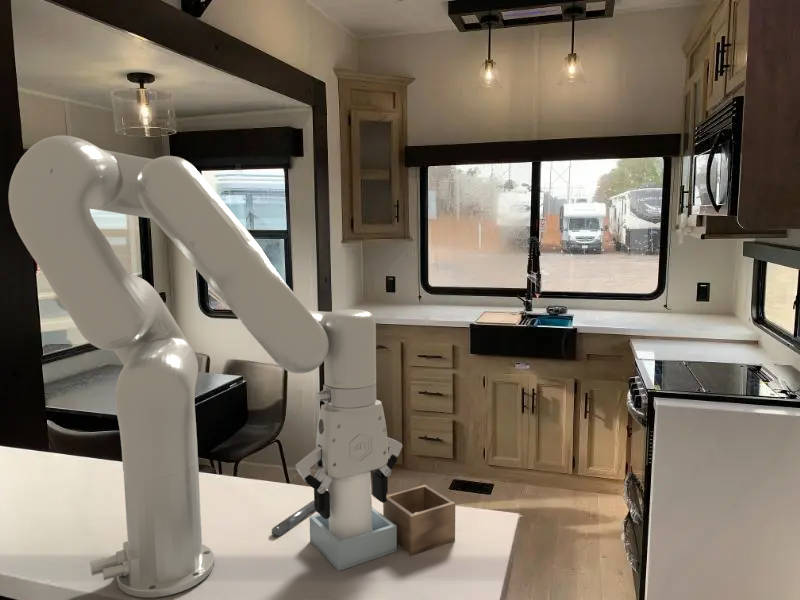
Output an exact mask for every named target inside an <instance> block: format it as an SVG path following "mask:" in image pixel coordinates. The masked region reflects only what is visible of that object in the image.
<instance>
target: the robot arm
mask: <svg viewBox="0 0 800 600" xmlns="http://www.w3.org/2000/svg"><path fill="white" fill-rule="evenodd" d="M8 206H9V213H10V216H11V219H12V222H13V225H14V228H15V229H16V232H17V233H18V236H19V237H20V239H21V241H22V243H23V244H24V246H25V247H26V249H27V251H28V252H29V253H30V256H31V257H32V258H33V259H34V261H35V263H36V264H37V266H38V268H39V269H40V270H41V272H42V273H43V275H44V277H45V279H46V281H47V282H48V284H49V286H50V287H51V289H52V290H53V292H54V293H55V295H56V296H57V298H58V300H59V301H60V302H61V305H62V306H63V307H64V308H65V310H66V312H67V314H68V315H69V316H70V318H71V320H72V321H73V323H74V324H75V327H76V329H78V332H80V334H81V336H82V337H83V338H84V339H85V340H86V341H87V342H88V343H89V344H90V345H92V346H94V347H96V348H98V349H101V350H105V351H113V352H114V353H115V354H116V356H117V357H118V360H120V362H121V364H122V365H123V367H122V369H121V370H120V373H119V375H118V378H117V380H116V384H115V391H114V400H115V402H114V403H115V410H116V411H115V412H116V416H117V421H118V428H119V436H120V446H121V459H122V472H123V483H124V485H123V486H124V500H125V501H124V502H125V503H124V504H125V518H126V519H125V520H126V532H127V533H126V535H127V536H126V537H127V541H124V542H123V543H122V549H121V550H118V551H115V554H113V555H109V556H104V557H100V558H96V559H91V560H90V561H89V567H90V574H91V577H93V576H97V575H100V574H102V579H103V581H106V580H109V579H113V578H115V577H116V581H117V586H118V588H119V589H120V590H121V591H122V592H123V593H125V594H127V595H129V596H134V597H136V598H149V599H150V598H162V597H166V596H171V595H172V596H173V595H175V594H179V593H181V592H184V591H187V590H189V589H191V588H193V587H194V586H196V585H199V583H202V582H203V580H205V579H207V577H208V576H209V575H210V574H211V573H212V571H213V570H214V566H215V555H214V552H213V551H212V549H211V548H210V547H209V546H207V545H205V544H203V538H202V517H201V516H202V515H201V492H200V491H201V490H200V473H199V472H200V471H199V456H198V455H199V454H198V451H199V450H198V437H197V422H196V420H197V419H196V406H195V405H196V403H195V399H196V398H195V396H196V395H195V393H196V385H197V380H198V376H199V362H198V359H197V356H196V354H195V351H194V349H193V348H192V346H191V344H190V342H189V341H188V339H187V338H186V336H185V334H184V333H183V331H182V330H181V328H180V326H179V325H178V323H177V321H176V320H175V318H174V316H173V315H172V313H171V312H170V310H169V308H168V307H167V305H166V304H165V302H164V301H163V299H162V297H161V295H160V294H159V293H158V292H157V291H156V289H155V288H154V287H153V286H152V285H151V284H150V283H149V282H148V281H147V280H145V279H143V278H141V277H139V276H137V275H134V274H130V273H129V272H128V271H127V270H126V269H125V267H124V265H123V263H121V261H120V259H119V258H118V256H117V255H116V253H115V252H114V249H113V247H112V245H111V243H110V242H109V241H108V239H107V238H106V236H105V235H104V233H103V232H102V230H101V229H100V227H98V226H97V224H96V222H95V220H94V218H93V217H92V214H91V210H96V211H103V212H109V213H114V214H122V215H125V216H126V215H128V216H135V217H139V218H147V219H152V220H153V221H154V223H156V224H157V226H158V227H159V228H160V229H161V230H162V232H164V234H165V235H166V236H167V237H168V238H169V239H170V240H171V241H172V243H174V245H175V246H176V247H177V248H178V249H179V251H181V253H182V255H184V256H185V257H186V258H187V260H188V261H189V262H190V264H191V265H192V266H193V267H194V269H196V271H197V272H198V273H199V274H200V275H201V276H202V278H203V279H204V280H205V281H206V283H208V285H209V287H210V288H211V289H212V290H213V292H214V293H216V295H217V296H218V297H219V298H220V299H221V300H222V301H223V302H224V303H225V304H226V305H227V306H228V308H229V309H230V310H231V311H232V313H233V314H234V315H235V317H236V318H237V319H238V320H239V322H241V324H242V325H243V326H244V327H245V329H247V331H248V332H249V333H250V335H251V336H252V337H253V338H254V339H255V341H257V343H258V344H259V345H260V346H261V347H262V348H263V349H264V351H265V352H266V353H267V354H268V355H269V356H270V357H271V359H272V360H273V361H274V362H275V363H276V364H277V365H278V366H279V367H280V368H282V369H283V370H285V371H287V372H290V373H293V374H307V373H311V372H312V371H315V370H316V369H317V368H319V367H320V366H321V365H322V364H323V365H324V366H323V370H324V371H323V372H324V375H323V376H324V378H323V379H324V384H322V387H323V389H322V390H321V391H318V392H316V394H315V396H316V401H317V402H324V403H323V404H321V405H320V410H319V414H318V420H317V427H316V428H317V429H316V440H315V448H314V449H313V450H312V451H311V452H310V453H307V455H306V456H304V457H303V458H302V459H301V460H299V461H297V462H296V464H295V469H296V470H297V472H298V474H299V475H300V477H301V479H302V481H304V482H305V483H306V484H307V485H309V486H310V487H312V489H313V501H314V507H315V512H316V513H317V514H320V515H321V516H322V517H323V518H324V519H328V518H329V517H330V493H329V492H328V486H329V484H330V483H331V481H332V479H341V478H346V477H350V476H354V475H358V474H362V473H366V472H370V473H371V472H372V473H371V474H372V475H371V496H372V497H374V498H375V499H376V500H378V502H380V503H382V504H383V503H384V502H386V501H387V495H388V493H389V491H388V487H389V486H388V485H389V484H388V483H389V482H388V479H389V478H388V477H389V476H391V474H392V469H393V468H394V466H395V465H396V464H397V462H398V456H400V453H401V450H403V449H402V448H403V444H402V442H400V441H398V440H396V439H393V438H391V437H388V432H387V424H386V423H387V422H386V417H385V412H384V407H383V404H382V403H383V402H382V401H381V400H378V399H377V345H376V344H377V340H376V339H377V329H376V327H377V325H376V323H377V322H376V318H375V316H374V315H373V313H371V312H370V311H367V310H363V309H340V310H339V309H338V310H333V311H321V310H320V311H319V310H318V311H317V310H311V309H310V310H309V309H308V308H307V307H306V306H305V305H304V303H303V302H302V301H301V300H300V299H299V297H298V296H297V295H296V294H295V293H294V291H293V290H292V289H291V288H290V287H289V285H288V284H287V283H286V282H285V280H284V279H283V278H282V276H281V275H280V274H279V272H278V271H277V270H276V268H275V267H274V266H273V264H272V262H271V261H270V260H269V258H268V256H267V255H266V253H265V252H264V249H262V247H261V246H260V244H259V243H258V242H257V240H256V239H255V238H254V236H253V235H252V234H251V233H250V232H249V231H248V229H247V228H246V227H245V226H244V225H243V223H242V222H241V221H240V220H239V219H238V218H237V216H236V215H235V214H234V213H233V212H232V210H231V209H230V208H229V206H228V205H227V204H226V203H225V202H224V200H223V199H222V198H221V197H220V195H219V194H218V193H217V192H216V191H215V190H214V188H213V187H212V185H210V183H209V182H208V181H207V180H206V178H205V177H204V176H203V175H202V174H201V173H200V171H199V170H197V168H196V167H195V166H194V165H193V163H191V162H189V161H188V160H186V159H184V158H182V157H180V156H175V155H174V156H173V155H164V156H159V157H156V158H148V157H142V156H137V155H133V154H132V155H131V154H127V153H121V152H117V151H113V150H106V149H103V148H100V147H99V146H97V145H95V144H93V143H91V142H89V141H87V140H85V139H83V138H79V137H75V136H72V135H64V134H63V135H53V136H49V137H45V138H43V139H41V140H39V141H37V142H35V143H34V144H32V145H31V146H30V147H29V148H28V150H27V151H25V153H24V154H23V155H22V156H21V157H20V159H19V161H18V163H16V165H15V168H14V170H13V173H12V175H11V177H10V181H9V186H8ZM314 465H316V468H317V471H316V473H315V475H314V476H313V474H312V473H311V471H310V470H311V468H312V467H313V466H314Z"/></svg>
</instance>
